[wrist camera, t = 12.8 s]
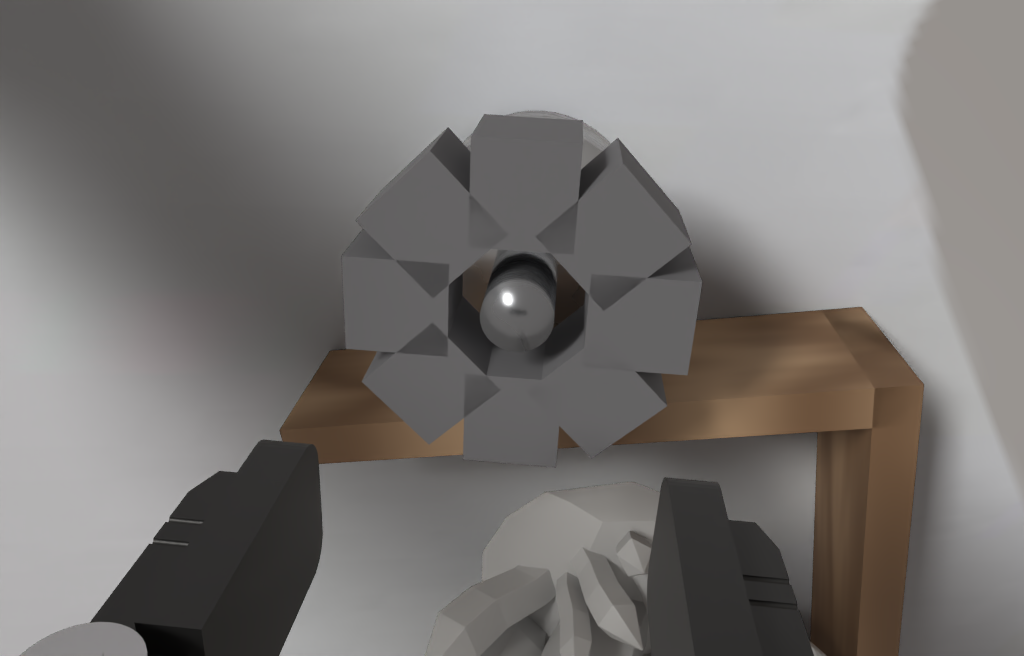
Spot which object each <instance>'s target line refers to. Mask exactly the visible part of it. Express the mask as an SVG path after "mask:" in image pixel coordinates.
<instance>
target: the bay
mask: <svg viewBox="0 0 1024 656" xmlns="http://www.w3.org/2000/svg"><path fill="white" fill-rule="evenodd" d="M376 353H377V351H367V350H354V349H345V350H333V351H329V353H328V355H327V356H326V358H325V359H324V361H323V362H322V364H321V366H320V367H319V369H318V370H317V372H316V373H315V375H314V377H313V378H312V380H311V381H310V383H309V384H308V386H307V388H306V389H305V391H304V392H303V394H302V395H301V397H300V399H299V400H298V402H297V403H296V405H295V406H294V408H293V410H292V411H291V413H290V414H289V416H288V417H287V419H286V421H285V422H284V424H283V425H282V427H281V429H280V434H281V437H282V441H283V442H294V443H305V444H313V445H315V447H316V449H317V453H318V460H319V464H325V463H340V462H356V461H372V460H387V459H403V458H418V457H434V456H449V455H463V436H464V418H463V419H462V420H461V421H460V422H458V423H457V424H456V425H454V426H453V427H452V428H450V429H449V430H448V431H446V432H445V433H444V434H443V435H441V436H440V437H439V438H437V439H436V440H435V441H433V442H432V443H431V444H428V443H427V442H426V441H424V440H423V439H422V438H421V437H420V436H419V435H418V434H417V433H416V432H415V431H414V430H413V429H412V428H411V427H409V426H408V425H407V424H406V423H405V422H404V421H403V420H402V419H401V418H400V417H399V416H398V415H397V414H396V413H395V412H393V411H392V410H391V409H390V408H389V407H388V406H387V405H386V404H385V403H384V402H383V401H382V400H381V399H380V398H379V397H377V396H376V395H375V394H374V393H373V392H372V391H371V390H370V389H369V388H368V387H367V386H366V385H365V384H364V383H363V382H362V380H363V378H364V376H365V374H366V372H367V370H368V368H369V366H370V364H371V363H372V361H373V359H374V357H375V355H376ZM661 375H662V380H663V386H664V391H665V396H666V401H667V407H665V408H664V409H663V410H661V411H660V412H658V413H657V414H655V415H654V416H652V417H651V418H649V419H648V420H647V421H645V422H644V423H642V424H641V425H639V426H638V427H636V428H635V429H634V430H632V431H631V432H629V433H628V434H626V435H625V436H623V437H622V438H620V439H619V440H618V441H616V442H615V443H613V444H612V445H620V444H636V443H651V442H667V441H683V440H698V439H714V438H729V437H745V436H760V435H776V434H791V433H807V432H818V434H817V464H816V493H815V522H814V551H813V580H812V610H811V639H810V641H811V642H812V643H813V644H814V645H815V646H816V647H817V648H819V649H820V650H821V651H822V652H823V653H824V654H825V655H827V656H898V652H899V642H900V631H901V621H902V610H903V600H904V590H905V579H906V569H907V558H908V548H909V537H910V527H911V516H912V506H913V495H914V485H915V474H916V464H917V453H918V443H919V433H920V422H921V412H922V401H923V391H924V384H923V383H922V382H921V380H920V379H919V378H918V377H917V375H916V374H915V373H914V372H913V370H912V369H911V368H910V367H909V365H908V364H907V363H906V362H905V360H904V359H903V358H902V357H901V355H900V354H899V353H898V352H897V350H896V349H895V348H894V347H893V345H892V344H891V343H890V342H889V340H888V339H887V338H886V337H885V335H884V334H883V333H882V332H881V330H880V329H879V328H878V327H877V325H876V324H875V323H874V322H873V320H872V319H871V318H870V317H869V315H868V314H867V313H866V312H865V310H864V309H863V308H862V307H855V308H843V309H831V310H818V311H806V312H794V313H782V314H770V315H758V316H746V317H733V318H721V319H709V320H697V321H696V326H695V332H694V338H693V345H692V351H691V357H690V363H689V370H688V375H675V374H662V373H661ZM574 447H580V446H579V445H578V444H577V443H576V442H575V441H574V440H573V439H572V438H571V437H570V436H569V435H568V434H567V433H566V432H565V431H564V430H563V429H562V428H561V427H560V426H559V436H558V448H574ZM558 448H557V449H558Z"/></svg>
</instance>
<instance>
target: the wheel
mask: <svg viewBox="0 0 1024 656" xmlns="http://www.w3.org/2000/svg"><path fill="white" fill-rule="evenodd" d="M582 151H583V120H567V119H551V118H535V117H519V116H503V115H487V114H484V116H483V117H482V119H481V121H480V122H479V124H478V126H477V127H476V129H475V130H474V132H473V134H472V135H471V152H470V151H469V150H468V148H467V147H466V146H465V145H464V144H463V143H462V142H461V141H460V140H459V139H458V137H457V136H456V135H455V134H454V133H453V132H452V131H451V130H450V129H449V128H447V129H446V130H445V131H444V132H443V133H442V134H440V135H439V136H438V137H437V138H436V139H435V140H434V141H433V142H432V143H431V144H430V145H429V146H428V147H427V148H426V149H425V150H424V151H422V152H421V153H420V154H419V155H418V156H417V157H416V158H415V159H414V160H413V161H412V162H411V163H410V164H409V165H408V166H407V167H405V168H404V169H403V170H402V171H401V172H400V173H399V174H398V175H397V176H396V177H395V178H394V179H393V180H392V181H391V182H390V183H389V184H387V185H386V186H385V187H384V188H383V189H382V190H381V191H380V193H379V194H378V195H377V196H376V197H375V198H374V200H373V201H372V202H371V203H370V204H369V205H368V207H367V208H366V209H365V210H364V211H363V212H362V214H361V215H360V216H359V217H358V218H357V220H356V222H357V223H358V224H359V225H360V226H361V227H362V228H363V230H362V231H361V232H360V233H359V235H358V236H357V237H356V239H355V240H354V241H353V242H352V244H351V245H350V246H349V247H348V249H347V250H346V251H345V252H344V254H343V255H342V256H341V259H342V281H343V302H344V324H345V345H346V349H354V350H367V351H377V353H376V355H375V357H374V359H373V361H372V363H371V364H370V366H369V368H368V370H367V372H366V374H365V376H364V378H363V380H362V382H363V383H364V384H365V385H366V386H367V387H368V388H369V389H370V390H371V391H372V392H373V393H374V394H375V395H376V396H377V397H379V398H380V399H381V400H382V401H383V402H384V403H385V404H386V405H387V406H388V407H389V408H390V409H391V410H392V411H393V412H395V413H396V414H397V415H398V416H399V417H400V418H401V419H402V420H403V421H404V422H405V423H406V424H407V425H408V426H409V427H411V428H412V429H413V430H414V431H415V432H416V433H417V434H418V435H419V436H420V437H421V438H422V439H423V440H424V441H426V442H427V443H428V444H431V443H432V442H433V441H435V440H436V439H437V438H439V437H440V436H441V435H443V434H444V433H445V432H446V431H448V430H449V429H450V428H452V427H453V426H454V425H456V424H457V423H458V422H460V421H461V420H462V419H463V418H464V436H463V460H474V461H486V462H497V463H509V464H521V465H533V466H545V467H556V460H557V448H558V436H559V426H560V427H561V428H562V429H563V430H564V431H565V432H566V433H567V434H568V435H569V436H570V437H571V438H572V439H573V440H574V441H575V442H576V443H577V444H578V445H579V446H580V447H581V448H582V449H583V450H584V451H585V452H586V453H587V454H588V455H589V456H590V457H591V458H593V457H594V456H596V455H597V454H599V453H600V452H602V451H603V450H605V449H606V448H607V447H609V446H610V445H612V444H613V443H615V442H616V441H618V440H619V439H620V438H622V437H623V436H625V435H626V434H628V433H629V432H631V431H632V430H634V429H635V428H636V427H638V426H639V425H641V424H642V423H644V422H645V421H647V420H648V419H649V418H651V417H652V416H654V415H655V414H657V413H658V412H660V411H661V410H663V409H664V408H665V407H667V401H666V396H665V391H664V386H663V380H662V375H661V373H662V374H675V375H688V370H689V363H690V357H691V351H692V345H693V338H694V332H695V326H696V319H697V313H698V307H699V301H700V294H701V288H702V280H701V277H700V274H699V272H698V269H697V266H696V264H695V261H694V258H693V255H692V253H691V250H690V247H689V246H690V245H691V241H690V238H689V236H688V233H687V230H686V228H685V225H684V223H683V220H682V217H681V215H680V212H679V210H678V209H677V207H676V206H675V205H674V204H673V203H672V202H671V200H670V199H669V198H668V197H667V196H666V194H665V193H664V192H663V191H662V190H661V188H660V187H659V186H658V185H657V184H656V183H655V181H654V180H653V179H652V178H651V177H650V175H649V174H648V173H647V172H646V171H645V169H644V168H643V167H642V166H641V165H640V164H639V162H638V161H637V160H636V159H635V158H634V156H633V155H632V154H631V153H630V152H629V150H628V149H627V148H626V147H625V146H624V145H623V143H622V142H621V141H620V140H619V139H618V138H617V139H616V140H615V141H614V142H613V143H611V144H610V145H609V146H608V147H607V148H606V149H604V150H603V151H602V152H601V153H600V154H599V155H597V156H596V157H595V158H594V159H593V160H591V161H590V162H589V163H588V164H587V165H586V166H584V167H583V168H582V169H581V163H582ZM490 249H499V250H513V251H527V252H542V253H551V254H552V255H553V256H554V257H555V258H556V259H557V261H558V262H559V263H560V264H561V265H562V266H563V267H564V268H565V269H566V270H567V271H568V273H569V274H570V275H571V276H572V277H573V278H574V279H575V280H576V281H577V282H578V283H579V285H580V286H581V287H582V288H583V289H584V290H585V300H584V305H583V306H581V307H580V308H579V309H578V310H576V311H575V312H574V313H572V314H571V315H570V316H569V317H567V318H566V319H565V320H563V321H562V322H561V323H560V324H558V325H557V326H556V327H554V328H553V329H552V332H551V334H550V335H549V337H548V338H547V340H546V341H545V342H544V343H542V344H541V345H540V346H538V347H537V348H535V349H532V350H529V351H525V352H512V351H507V350H504V349H502V348H500V347H498V346H496V345H495V344H493V343H492V342H491V341H490V340H489V339H488V338H487V337H486V335H485V334H484V332H483V330H482V327H481V323H480V313H479V312H478V311H477V310H476V309H475V308H474V307H473V306H472V305H471V304H470V303H469V302H468V301H467V300H466V299H465V298H464V297H463V296H462V295H463V272H464V271H466V270H467V269H468V268H469V267H470V266H472V265H473V264H474V263H475V262H476V261H477V260H479V259H480V258H481V257H482V256H483V255H484V254H486V253H487V252H488V251H489V250H490Z"/></svg>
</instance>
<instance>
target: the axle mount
mask: <svg viewBox="0 0 1024 656" xmlns="http://www.w3.org/2000/svg"><path fill="white" fill-rule="evenodd" d="M505 116H519V117H535V118H551V119H567V120H577V119H575V118H572V117H570V116H567V115H563V114H559V113H556V112H548V111H524V112H517V113H512V114H509V115H505ZM472 134H473V133H472ZM472 134H471V135H472ZM471 135H470V136H469V137H468V138H467V139H466V140H465V141H464V142H463V144H464V145H465V146H466V147H467V148H468V150H469V151H470V152H471ZM609 145H610V143H609V142H608V140H607V139H606V138H605V137H604V136H602V135H601V134H600V133H599V132H597V131H596V130H595V129H593V128H592V127H590V126H589V125H587V124H585V123H583V151H582V163H581V169H582V168H583V167H584V166H586V165H587V164H588V163H589V162H590V161H591V160H593V159H594V158H595V157H596V156H597V155H599V154H600V153H601V152H602V151H603V150H604V149H606V148H607V147H608V146H609ZM462 296H463V297H464V298H465V299H466V300H467V301H468V302H469V303H470V304H471V305H472V306H473V307H474V308H475V309H476V310H477V311H478V312H479V313H480V323H481V327H482V330H483V332H484V334H485V335H486V337H487V338H488V339H489V340H490V341H491V342H492V343H493V344H495V345H496V346H498V347H500V348H502V349H504V350H507V351H512V352H525V351H529V350H532V349H535V348H537V347H538V346H540V345H541V344H542V343H544V342H545V341H546V340H547V338H548V337H549V335H550V334H551V332H552V329H553V328H554V327H556V326H557V325H558V324H560V323H561V322H562V321H563V320H565V319H566V318H567V317H569V316H570V315H571V314H572V313H574V312H575V311H576V310H578V309H579V308H580V307H581V306H583V305H584V300H585V290H584V289H583V288H582V287H581V286H580V285H579V283H578V282H577V281H576V280H575V279H574V278H573V277H572V276H571V275H570V274H569V273H568V271H567V270H566V269H565V268H564V267H563V266H562V265H561V264H560V263H559V262H558V261H557V259H556V258H555V257H554V256H553V255H552V254H551V253H542V252H527V251H513V250H499V249H490V250H489V251H488V252H487V253H486V254H484V255H483V256H482V257H481V258H480V259H479V260H477V261H476V262H475V263H474V264H473V265H472V266H470V267H469V268H468V269H467V270H466V271H464V272H463V295H462Z"/></svg>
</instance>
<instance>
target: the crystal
mask: <svg viewBox="0 0 1024 656" xmlns="http://www.w3.org/2000/svg"><path fill="white" fill-rule="evenodd" d="M659 497H660V492H657V491H655V490H652V489H650V488H647V487H645V486H642V485H640V484H637V483H635V482H623V483H615V484H608V485H600V486H592V487H585V488H577V489H569V490H559V491H549V492H545V493H543V494H541V495H540V496H538V497H537V498H535V499H534V500H532V501H531V502H529V503H528V504H526V505H525V506H523V507H521V508H520V509H518V510H517V511H515V512H514V513H512V514H511V515H509V516H508V517H506V518H505V520H504V521H503V523H502V524H501V526H500V527H499V529H498V530H497V531H496V533H495V534H494V536H493V537H492V539H491V540H490V542H489V543H488V545H487V546H486V548H485V549H484V550H483V553H482V582H480V583H478V584H476V585H473V586H471V587H470V588H469V589H468V590H466V591H465V592H464V593H462V594H461V595H460V596H459V597H457V598H456V599H455V600H453V601H452V602H451V603H450V604H448V605H447V606H446V607H445V608H443V609H442V610H441V611H439V613H438V615H437V619H436V622H435V625H434V628H433V631H432V635H431V638H430V641H429V644H428V648H427V651H426V654H425V656H652V655H651V644H650V633H649V623H648V612H647V579H648V568H649V560H650V554H651V547H652V541H653V535H654V528H655V522H656V516H657V509H658V503H659ZM810 645H811V648H812V651H813V654H814V656H827V655H825V654H824V653H823V652H822V651H821V650H820V649H819V648H817V647H816V646H815V645H814V644H813V643H812V642H811V641H810Z"/></svg>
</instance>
